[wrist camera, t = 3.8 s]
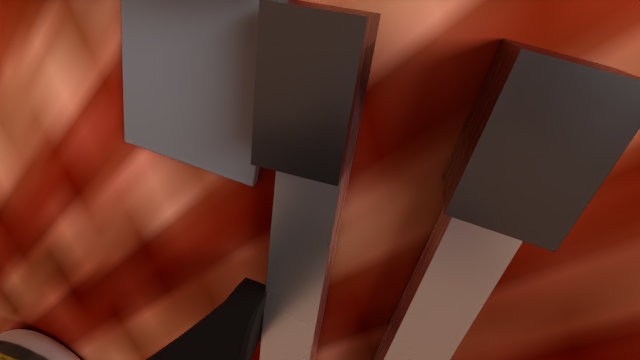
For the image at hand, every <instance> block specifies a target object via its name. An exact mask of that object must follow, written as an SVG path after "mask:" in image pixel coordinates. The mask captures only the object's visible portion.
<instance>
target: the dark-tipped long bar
mask: <svg viewBox="0 0 640 360" xmlns="http://www.w3.org/2000/svg"><path fill="white" fill-rule="evenodd" d="M639 129H640V77H637V76H634V75H632V74H629V73H626V72H624V71H621V70H618V69H616V68H613V67H609V66H605V65H601V64H598V63H594V62H590V61H586V60H583V59H579V58H575V57H571V56H568V55H564V54H560V53H557V52H553V51H549V50H545V49H542V48H538V47H534V46H530V45H527V44H523V43H519V42H515V41H512V40H508V39H504V38H503V39H502V41H501V43H500V46H499V48H498V50H497V52H496V55H495V57H494V59H493V62H492V64H491V66H490V68H489V71H488V73H487V75H486V78H485V80H484V82H483V84H482V87H481V89H480V91H479V93H478V96H477V98H476V100H475V103H474V105H473V107H472V109H471V112H470V114H469V116H468V119H467V121H466V123H465V125H464V128H463V130H462V132H461V135H460V137H459V139H458V141H457V144H456V146H455V148H454V151H453V153H452V155H451V157H450V160H449V162H448V164H447V167H446V169H445V171H444V173H443V197H444V206H443V208H442V211H441V213H440V215H439V217H438V219H437V221H436V224H435V226H434V228H433V230H432V232H431V234H430V237H429V239H428V241H427V243H426V245H425V247H424V250H423V252H422V254H421V256H420V258H419V261H418V263H417V265H416V267H415V269H414V271H413V274H412V276H411V278H410V280H409V282H408V284H407V287H406V289H405V291H404V293H403V295H402V297H401V300H400V302H399V304H398V306H397V308H396V310H395V313H394V315H393V317H392V319H391V321H390V324H389V326H388V328H387V330H386V332H385V334H384V337H383V339H382V341H381V343H380V345H379V347H378V350H377V352H376V354H375V356H374V358H373V360H450V359H451V357H452V356H453V354H454V352H455V351H456V349H457V348H458V346H459V344H460V343H461V341H462V339H463V338H464V336H465V335H466V333H467V331H468V330H469V328H470V326H471V325H472V323H473V322H474V320H475V318H476V317H477V315H478V313H479V312H480V310H481V309H482V307H483V305H484V304H485V302H486V300H487V299H488V297H489V296H490V294H491V292H492V291H493V289H494V287H495V286H496V284H497V283H498V281H499V279H500V278H501V276H502V274H503V273H504V271H505V270H506V268H507V266H508V265H509V263H510V261H511V260H512V258H513V257H514V255H515V253H516V252H517V250H518V248H519V247H520V245H521V244H522V242H523V241H524V242H527V243H530V244H533V245H536V246H539V247H541V248H544V249H547V250H550V251H553V252H556V250H557V249H558V248H559V246H560V245H561V243H562V242H563V240H564V239H565V237H566V236H567V234H568V233H569V231H570V230H571V228H572V227H573V225H574V224H575V223H576V221H577V220H578V218H579V217H580V215H581V214H582V212H583V211H584V209H585V208H586V206H587V205H588V203H589V202H590V201H591V199H592V198H593V196H594V195H595V193H596V192H597V190H598V189H599V187H600V186H601V184H602V183H603V181H604V180H605V178H606V177H607V176H608V174H609V173H610V171H611V170H612V168H613V167H614V165H615V164H616V162H617V161H618V159H619V158H620V156H621V155H622V153H623V152H624V151H625V149H626V148H627V146H628V145H629V143H630V142H631V140H632V139H633V137H634V136H635V134H636V133H637V131H638V130H639Z"/></svg>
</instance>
